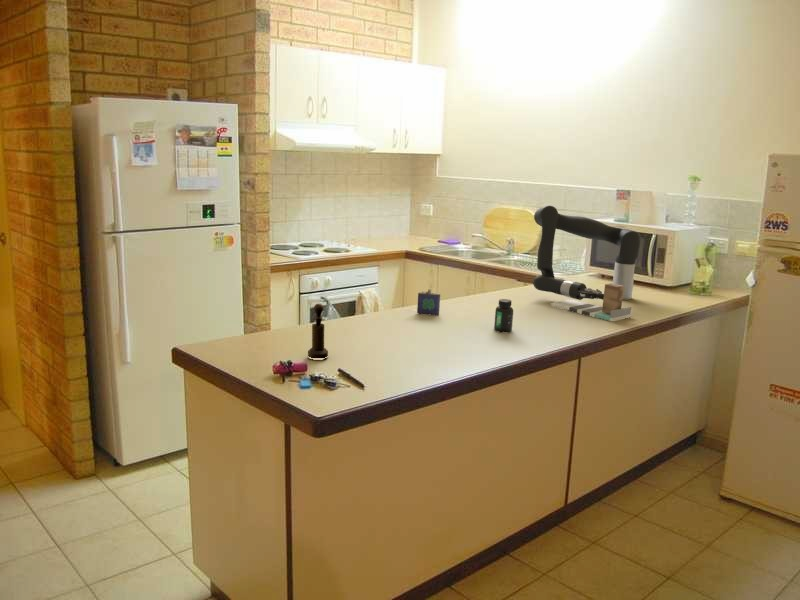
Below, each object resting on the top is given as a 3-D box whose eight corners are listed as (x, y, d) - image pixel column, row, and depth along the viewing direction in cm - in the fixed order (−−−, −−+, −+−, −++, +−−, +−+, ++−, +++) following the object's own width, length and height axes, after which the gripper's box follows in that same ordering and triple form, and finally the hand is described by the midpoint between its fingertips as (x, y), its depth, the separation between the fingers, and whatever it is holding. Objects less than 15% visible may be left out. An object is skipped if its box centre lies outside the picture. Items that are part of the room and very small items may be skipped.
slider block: (608, 310, 300) (611, 283, 297) (620, 313, 295) (623, 285, 292) (601, 311, 296) (605, 284, 294) (614, 314, 292) (617, 287, 289)
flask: (439, 314, 288) (440, 288, 285) (439, 315, 285) (440, 290, 282) (417, 312, 288) (418, 287, 286) (416, 314, 285) (418, 289, 283)
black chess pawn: (308, 354, 226) (309, 301, 222) (328, 354, 227) (329, 301, 223) (307, 360, 220) (308, 306, 216) (327, 361, 220) (328, 306, 216)
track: (569, 302, 320) (570, 293, 319) (630, 317, 297) (631, 307, 296) (550, 306, 311) (551, 296, 310) (611, 321, 288) (613, 311, 287)
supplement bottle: (498, 333, 263) (500, 302, 260) (491, 328, 269) (493, 298, 266) (514, 332, 264) (517, 302, 262) (507, 327, 271) (509, 298, 268)
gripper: (565, 283, 304) (599, 290, 291) (582, 280, 313) (616, 287, 300) (563, 299, 306) (597, 307, 293) (581, 296, 314) (614, 304, 302)
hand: (606, 297), depth 297 cm, fingers closed
